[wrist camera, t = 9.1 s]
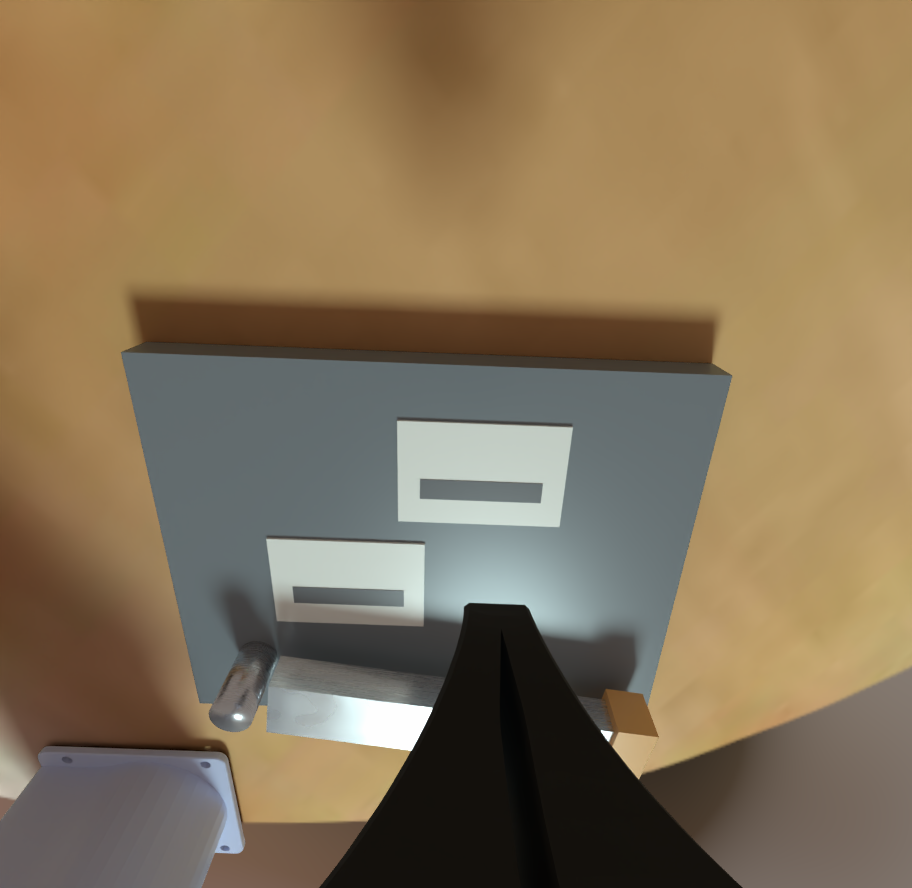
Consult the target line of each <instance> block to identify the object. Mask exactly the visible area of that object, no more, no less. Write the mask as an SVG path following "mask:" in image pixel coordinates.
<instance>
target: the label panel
mask: <svg viewBox="0 0 912 888" xmlns="http://www.w3.org/2000/svg"><path fill="white" fill-rule="evenodd" d="M121 354H122V359H123V363H124V368H125V372H126V377H127V381H128V386H129V390H130V394H131V399H132V403H133V408H134V412H135V417H136V421H137V426H138V430H139V435H140V439H141V443H142V448H143V452H144V457H145V461H146V466H147V470H148V475H149V479H150V484H151V488H152V493H153V497H154V501H155V506H156V510H157V515H158V519H159V524H160V528H161V533H162V537H163V542H164V546H165V550H166V555H167V559H168V564H169V568H170V573H171V577H172V582H173V586H174V591H175V595H176V599H177V604H178V608H179V613H180V617H181V622H182V626H183V631H184V635H185V640H186V644H187V649H188V653H189V657H190V662H191V666H192V671H193V675H194V680H195V684H196V689H197V693H198V698H199V702H200V703H211V704H213V705H212V707H211V709H210V711H209V717H210V720H211V721H212V723H213V724H214V725H215V726H217V727H218V728H220V729H222V730H225V731H230V732H239V731H243V730H245V729H247V728H248V727H249V726H250V725H251V723H252V721H253V718H254V716H255V713H256V711H257V709H258V706H259V705H268V686H269V684H270V681H271V679H272V676H273V674H274V671H275V669H276V666H277V664H278V662H279V659H280V657H281V656H288V657H296V658H303V659H310V660H318V661H325V662H332V663H340V664H347V665H354V666H362V667H369V668H376V669H384V670H391V671H398V672H405V673H413V674H420V675H427V676H435V677H442V678H446V676H447V673H448V670H449V667H450V664H451V661H452V659H453V656H454V653H455V650H456V647H457V643H458V640H459V636H460V632H461V627H462V622H463V613H464V606H466V605H467V604H468V603H490V604H517V605H526V606H527V607H528V608H529V610H530V612H531V615H532V617H533V619H534V621H535V623H536V626H537V628H538V630H539V632H540V634H541V636H542V638H543V640H544V642H545V643H546V645H547V647H548V649H549V651H550V653H551V655H552V656H553V658H554V660H555V662H556V663H557V665H558V667H559V668H560V670H561V672H562V673H563V675H564V677H565V678H566V680H567V682H568V683H569V685H570V686H571V688H572V690H573V691H574V693H575V694H576V696H581V697H588V698H596V699H602V697H603V694H604V692H605V689H611V690H618V691H626V692H633V693H640V694H643V696H644V699H645V702H646V704H647V706H648V702H649V698H650V694H651V690H652V686H653V682H654V678H655V674H656V670H657V667H658V663H659V659H660V655H661V651H662V647H663V643H664V639H665V635H666V632H667V628H668V624H669V620H670V616H671V612H672V608H673V604H674V600H675V596H676V593H677V589H678V585H679V581H680V577H681V573H682V569H683V565H684V561H685V558H686V554H687V550H688V546H689V542H690V538H691V534H692V530H693V526H694V523H695V519H696V515H697V511H698V507H699V503H700V499H701V495H702V491H703V487H704V484H705V480H706V476H707V472H708V468H709V464H710V460H711V456H712V452H713V449H714V445H715V441H716V437H717V433H718V429H719V425H720V421H721V417H722V413H723V410H724V406H725V402H726V398H727V394H728V390H729V386H730V382H731V378H732V375H730V374H729V373H727V372H725V371H724V370H722V369H721V368H719V367H717V366H716V365H714V364H711V363H685V362H659V361H633V360H607V359H581V358H555V357H529V356H503V355H477V354H451V353H425V352H399V351H372V350H346V349H320V348H294V347H268V346H242V345H216V344H190V343H164V342H145V343H142V344H140V345H137V346H135V347H132V348H130V349H128V350H125V351H123V352H121Z"/></svg>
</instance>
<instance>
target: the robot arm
mask: <svg viewBox="0 0 912 888" xmlns="http://www.w3.org/2000/svg"><path fill="white" fill-rule="evenodd" d="M38 760H39V762H40V764H41V768H40V769H39V770H38V771H37V773H36V774H35V775H34V777H33V778H32V779H31V781H30V782H29V783H28V785H27V786H26V787H25V789H24V790H23V791H22V793H21V794H20V795H19V797H18V798H17V799H16V800H15V802H14V803H13V804H12V806H11V807H10V808H9V810H8V811H7V812H6V814H5V815H4V816H3V818H2V819H1V820H0V888H201V887H202V884H203V882H204V879H205V877H206V874H207V872H208V869H209V866H210V864H211V861H212V859H213V856H214V853H240V852H241V851H242V850H243V848H244V845H245V839H244V834H243V829H242V824H241V819H240V814H239V809H238V805H237V800H236V795H235V790H234V785H233V780H232V776H231V771H230V766H229V761H228V758H227V756H226V755H225V754H224V753H221V752H210V751H181V750H152V749H123V748H95V747H66V746H46V747H44V748H43V749H42V750H41V751H40V753H39V754H38ZM319 888H742V887H741V886H740V885H739V884H738V883H737V882H736V881H735V880H734V879H733V878H732V877H731V876H730V875H729V874H727V872H726V871H725V870H723V869H722V868H721V867H720V866H719V865H718V864H717V863H716V862H715V861H714V860H713V859H712V858H711V857H710V856H709V855H708V854H707V853H706V852H705V851H704V850H703V849H702V848H701V847H700V846H699V845H698V844H697V843H696V842H695V841H694V840H693V839H692V838H691V836H690V835H689V834H688V833H687V832H686V831H685V830H684V829H683V828H682V827H681V826H680V825H679V824H678V823H677V822H676V820H675V819H674V818H673V817H672V816H671V815H670V814H669V813H668V812H667V811H666V810H665V809H664V808H663V806H662V805H661V804H660V803H659V802H658V801H657V800H656V799H655V798H654V797H653V796H652V795H651V793H650V792H649V791H648V790H647V789H646V788H645V786H644V785H643V784H642V783H641V782H640V780H639V779H638V778H637V777H636V776H635V774H634V773H633V772H632V771H631V770H630V768H629V767H628V766H627V765H626V763H625V762H624V761H623V760H622V758H621V757H620V756H619V755H618V753H617V752H616V751H615V750H614V748H613V747H612V746H611V744H610V743H609V742H608V740H607V739H606V738H605V736H604V735H603V734H602V732H601V731H600V729H599V728H598V727H597V725H596V724H595V723H594V721H593V720H592V718H591V717H590V715H589V714H588V712H587V711H586V709H585V708H584V707H583V705H582V704H581V702H580V701H579V699H578V697H577V696H576V694H575V693H574V691H573V690H572V688H571V686H570V685H569V683H568V682H567V680H566V678H565V677H564V675H563V673H562V672H561V670H560V668H559V667H558V665H557V663H556V662H555V660H554V658H553V656H552V655H551V653H550V651H549V649H548V647H547V645H546V643H545V642H544V640H543V638H542V636H541V634H540V632H539V630H538V628H537V626H536V623H535V621H534V619H533V617H532V615H531V612H530V610H529V608H528V607H527V606H526V605H517V604H490V603H468V604H467V605H466V606H464V613H463V622H462V627H461V632H460V636H459V640H458V643H457V647H456V650H455V653H454V656H453V659H452V661H451V664H450V667H449V670H448V673H447V676H446V678H445V681H444V683H443V686H442V688H441V690H440V692H439V695H438V697H437V699H436V702H435V704H434V706H433V708H432V711H431V713H430V715H429V717H428V719H427V721H426V723H425V725H424V727H423V730H422V731H421V733H420V735H419V737H418V739H417V741H416V743H415V745H414V747H413V749H412V750H411V752H410V754H409V756H408V758H407V760H406V761H405V763H404V765H403V766H402V768H401V770H400V771H399V773H398V775H397V777H396V778H395V780H394V782H393V783H392V785H391V787H390V788H389V790H388V792H387V793H386V795H385V796H384V798H383V799H382V801H381V803H380V804H379V806H378V807H377V809H376V810H375V812H374V813H373V815H372V816H371V817H370V819H369V820H368V822H367V823H366V825H365V826H364V828H363V829H362V831H361V832H360V833H359V835H358V836H357V838H356V839H355V841H354V842H353V844H352V845H351V846H350V848H349V849H348V851H347V852H346V854H345V855H344V856H343V858H342V859H341V860H340V862H339V863H338V865H337V866H336V867H335V868H334V870H333V871H332V872H331V874H330V875H329V876H328V877H327V878H326V880H325V881H324V882H323V884H322V885H321V886H320V887H319Z"/></svg>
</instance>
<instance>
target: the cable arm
mask: <svg viewBox="0 0 912 888" xmlns="http://www.w3.org/2000/svg"><path fill="white" fill-rule="evenodd" d="M444 681H445V678H442V677H435V676H427V675H420V674H413V673H405V672H398V671H391V670H384V669H376V668H369V667H362V666H354V665H347V664H340V663H332V662H325V661H318V660H310V659H303V658H296V657H288V656H281V657H280V659H279V662H278V664H277V666H276V669H275V671H274V674H273V676H272V679H271V681H270V684H269V686H268V707H267V732H271V733H279V734H287V735H295V736H302V737H310V738H318V739H326V740H334V741H342V742H349V743H357V744H365V745H373V746H381V747H389V748H396V749H404V750H412V749H413V747H414V745H415V743H416V741H417V739H418V737H419V735H420V733H421V731H422V730H423V727H424V725H425V723H426V721H427V719H428V717H429V715H430V713H431V711H432V708H433V706H434V704H435V702H436V699H437V697H438V695H439V692H440V690H441V688H442V686H443V683H444ZM577 697H578V699H579V701H580V702H581V704H582V705H583V707H584V708H585V709H586V711H587V712H588V714H589V715H590V717H591V718H592V720H593V721H594V723H595V724H596V725H597V727H598V728H599V729H600V731H601V732H602V734H603V735H604V736H605V738H606V739H607V740H608V742H609V743H610V744H611V746H612V747H613V748H614V750H615V751H616V752H617V753H618V755H619V756H620V757H621V758H622V760H623V761H624V762H625V763H626V765H627V766H628V767H629V768H630V770H631V771H632V772H633V773H634V774H635V776H636V777H637V778H638V779H639V778H640V776H641V774H642V772H643V770H644V768H645V765H646V763H647V761H648V759H649V757H650V755H651V753H652V751H653V749H654V747H655V745H656V743H657V740H658V738H659V736H658V734H657V731H656V728H655V726H654V723H653V720H652V718H651V715H650V712H649V710H648V707H647V704H646V702H645V699H644V696H643V694H640V693H633V692H626V691H618V690H611V689H605V692H604V694H603V697H602V699H596V698H588V697H581V696H577Z"/></svg>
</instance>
